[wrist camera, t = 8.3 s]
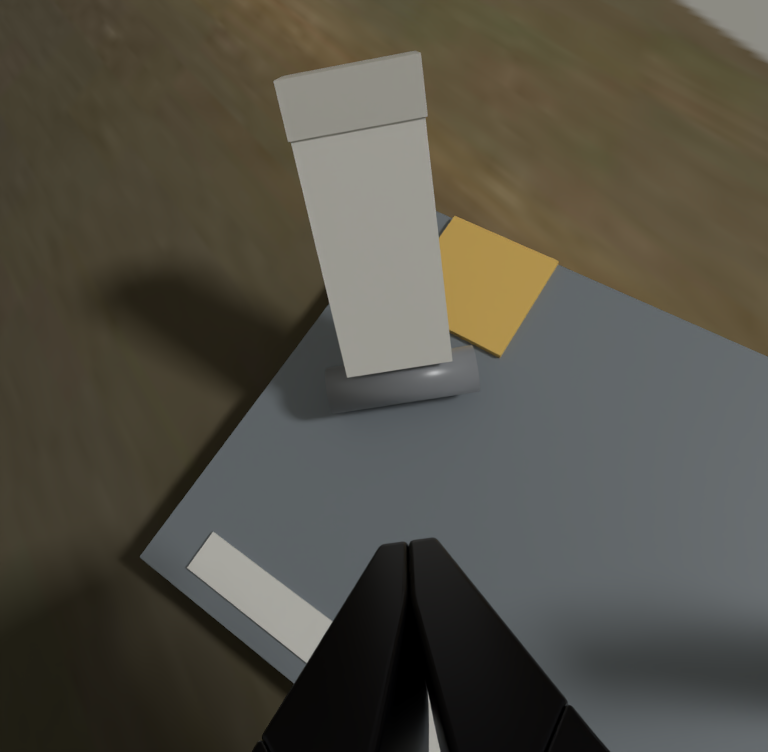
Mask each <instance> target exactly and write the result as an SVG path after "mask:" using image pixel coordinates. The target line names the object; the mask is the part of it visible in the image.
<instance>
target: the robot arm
mask: <svg viewBox="0 0 768 752" xmlns="http://www.w3.org/2000/svg"><path fill="white" fill-rule="evenodd" d="M428 695H429V700H430V705H431V711H432V716H433V721H434V725H435V730H436V734H437V739H438V743H439V748H440V752H610V751H609V749H608V748H607V747H606V746H605V745H604V744H603V742H602V741H601V740H600V739H599V738H598V737H597V735H596V734H595V733H594V732H593V731H592V729H591V728H590V727H589V726H588V724H587V723H586V722H585V721H584V719H583V718H582V717H581V716H580V715H579V713H578V712H577V711H576V710H575V708H574V707H573V706H572V705H568V701H567V699H566V698H565V696H564V695H563V694H562V693H561V691H560V690H559V689H558V688H557V687H556V685H555V684H554V683H553V682H552V680H551V679H550V678H549V677H548V675H547V674H546V673H545V672H544V670H543V669H542V668H541V667H540V665H539V664H538V663H537V662H536V661H535V659H534V658H533V657H532V656H531V654H530V653H529V652H528V651H527V649H526V648H525V647H524V646H523V644H522V643H521V642H520V641H519V639H518V638H517V637H516V636H515V635H514V633H513V632H512V631H511V630H510V628H509V627H508V626H507V625H506V623H505V622H504V621H503V620H502V618H501V617H500V616H499V615H498V613H497V612H496V611H495V610H494V609H493V607H492V606H491V605H490V604H489V602H488V601H487V600H486V599H485V597H484V596H483V595H482V594H481V592H480V591H479V590H478V589H477V587H476V586H475V585H474V584H473V582H472V581H471V580H470V579H469V578H468V576H467V575H466V574H465V573H464V571H463V570H462V569H461V568H460V566H459V565H458V564H457V563H456V561H455V560H454V559H453V558H452V556H451V555H450V554H449V553H448V552H447V550H446V549H445V548H444V547H443V545H442V544H441V543H440V542H439V540H438V539H436V538H434V537H431V538H424V539H416V540H412V541H410V543H409V546H408V544H407V543H406V542H404V541H402V542H394V543H387V544H382V545H381V546H379V547H378V549H377V551H376V552H375V554H374V555H373V557H372V559H371V560H370V562H369V563H368V565H367V567H366V568H365V570H364V571H363V573H362V575H361V576H360V578H359V580H358V581H357V583H356V584H355V586H354V588H353V589H352V591H351V592H350V594H349V596H348V597H347V599H346V601H345V602H344V604H343V605H342V607H341V609H340V610H339V612H338V613H337V615H336V617H335V618H334V620H333V622H332V623H331V625H330V626H329V628H328V630H327V631H326V633H325V634H324V636H323V638H322V639H321V641H320V643H319V644H318V646H317V647H316V649H315V651H314V652H313V654H312V655H311V657H310V659H309V660H308V662H307V664H306V665H305V667H304V668H303V670H302V672H301V673H300V675H299V676H298V678H297V680H296V681H295V683H294V685H293V686H292V688H291V689H290V691H289V693H288V694H287V696H286V697H285V699H284V701H283V702H282V704H281V706H280V707H279V709H278V710H277V712H276V714H275V715H274V717H273V718H272V720H271V722H270V723H269V725H268V726H267V728H266V730H265V731H264V733H263V735H262V740H263V741H258V742H257V744H256V745H255V747H254V749H253V750H252V752H429V701H428Z"/></svg>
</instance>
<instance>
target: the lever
mask: <svg viewBox="0 0 768 752" xmlns="http://www.w3.org/2000/svg"><path fill="white" fill-rule="evenodd" d="M274 85H275V89H276V93H277V98H278V102H279V106H280V110H281V114H282V118H283V122H284V127H285V131H286V135H287V139H288V142H291V145H292V149H293V153H294V157H295V161H296V166H297V170H298V174H299V178H300V182H301V186H302V191H303V195H304V199H305V203H306V207H307V212H308V216H309V220H310V224H311V228H312V233H313V237H314V241H315V245H316V249H317V253H318V258H319V262H320V266H321V270H322V274H323V279H324V283H325V287H326V291H327V295H328V299H329V304H330V308H331V312H332V316H333V320H334V325H335V329H336V333H337V337H338V341H339V346H340V350H341V354H342V358H343V362H344V365H342V366H335V367H329V368H326V370H325V384H326V392H327V397H328V402H329V406H330V409H331V411H332V413H333V414H335V413H341V412H348V411H355V410H361V409H368V408H374V407H381V406H388V405H394V404H401V403H407V402H414V401H420V400H427V399H434V398H440V397H447V396H453V395H460V394H467V393H473V392H479V391H480V380H479V372H478V365H477V360H476V355H475V351H474V348H473V346H472V345H469V346H463V347H456V348H451V342H450V333H449V324H448V316H447V307H446V298H445V289H444V280H443V271H442V262H441V253H440V244H439V235H438V226H437V217H436V209H435V200H434V191H433V182H432V173H431V164H430V155H429V146H428V137H427V128H426V119H425V117H427V116H428V115H427V106H426V97H425V87H424V78H423V69H422V60H421V53H420V52H417V51H411V52H406V53H401V54H396V55H391V56H385V57H380V58H375V59H370V60H364V61H359V62H354V63H349V64H344V65H338V66H333V67H328V68H323V69H318V70H312V71H307V72H302V73H297V74H291V75H286V76H282V77H280V78H278V79H276V80H275V81H274Z"/></svg>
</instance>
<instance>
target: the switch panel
mask: <svg viewBox="0 0 768 752" xmlns="http://www.w3.org/2000/svg"><path fill="white" fill-rule="evenodd" d="M436 217H437V226H438V235H439V244H440V253H441V262H442V271H443V280H444V289H445V298H446V307H447V316H448V324H449V333H450V342H451V348H456V347H463V346H469V345H472V346H473V348H474V351H475V355H476V360H477V365H478V372H479V380H480V391H479V392H473V393H467V394H460V395H453V396H447V397H440V398H434V399H427V400H420V401H414V402H407V403H401V404H394V405H388V406H381V407H374V408H368V409H361V410H355V411H348V412H341V413H335V414H333V413H332V411H331V409H330V406H329V402H328V397H327V392H326V384H325V370H326V368H329V367H335V366H342V365H344V362H343V358H342V354H341V350H340V346H339V341H338V337H337V333H336V329H335V325H334V320H333V316H332V312H331V308H330V304H328V306H327V307H326V308H325V310H324V311H323V312H322V314H321V315H320V316H319V318H318V319H317V320H316V322H315V323H314V324H313V326H312V327H311V328H310V330H309V331H308V332H307V334H306V335H305V336H304V338H303V339H302V340H301V342H300V343H299V344H298V346H297V347H296V348H295V350H294V351H293V352H292V354H291V355H290V356H289V358H288V359H287V360H286V362H285V363H284V364H283V366H282V367H281V368H280V370H279V371H278V373H277V374H276V375H275V377H274V378H273V379H272V381H271V382H270V383H269V385H268V386H267V387H266V389H265V390H264V391H263V393H262V394H261V395H260V397H259V398H258V399H257V401H256V402H255V403H254V405H253V406H252V407H251V409H250V410H249V411H248V413H247V414H246V415H245V417H244V418H243V419H242V421H241V422H240V423H239V425H238V426H237V427H236V429H235V430H234V431H233V433H232V434H231V435H230V437H229V438H228V439H227V441H226V442H225V443H224V445H223V446H222V447H221V449H220V450H219V451H218V453H217V454H216V455H215V457H214V458H213V459H212V461H211V462H210V463H209V465H208V466H207V467H206V469H205V470H204V471H203V473H202V474H201V475H200V477H199V478H198V479H197V481H196V482H195V483H194V485H193V486H192V487H191V489H190V490H189V491H188V493H187V494H186V495H185V497H184V498H183V499H182V501H181V502H180V503H179V505H178V506H177V507H176V509H175V510H174V511H173V513H172V514H171V515H170V517H169V518H168V519H167V521H166V522H165V523H164V525H163V526H162V527H161V529H160V530H159V531H158V533H157V534H156V535H155V537H154V538H153V539H152V541H151V542H150V543H149V545H148V546H147V547H146V549H145V550H144V551H143V553H142V554H141V555H140V558H141V559H142V560H144V561H145V562H146V563H147V564H148V565H150V566H151V567H152V568H153V569H155V570H156V571H157V572H158V573H159V574H161V575H162V576H163V577H164V578H166V579H167V580H168V581H169V582H170V583H172V584H173V585H174V586H175V587H177V588H178V589H179V590H180V591H181V592H183V593H184V594H185V595H186V596H188V597H189V598H190V599H191V600H193V601H194V602H195V603H196V604H197V605H199V606H200V607H201V608H202V609H204V610H205V611H206V612H207V613H208V614H210V615H211V616H212V617H213V618H215V619H216V620H217V621H218V622H219V623H221V624H222V625H223V626H224V627H226V628H227V629H228V630H229V631H230V632H232V633H233V634H234V635H235V636H237V637H238V638H239V639H240V640H241V641H243V642H244V643H245V644H246V645H248V646H249V647H250V648H251V649H252V650H254V651H255V652H256V653H257V654H259V655H260V656H261V657H262V658H263V659H265V660H266V661H267V662H268V663H270V664H271V665H272V666H273V667H274V668H276V669H277V670H278V671H279V672H281V673H282V674H283V675H284V676H285V677H287V678H288V679H289V680H290V681H292V682H293V683H295V681H296V680H297V678H298V676H299V675H300V673H301V672H302V670H303V668H304V667H305V665H306V664H307V662H308V660H309V659H310V657H311V655H312V654H313V652H314V651H315V649H316V647H317V646H318V644H319V643H320V641H321V639H322V638H323V636H324V634H325V633H326V631H327V630H328V628H329V626H330V625H331V623H332V622H333V620H334V618H335V617H336V615H337V613H338V612H339V610H340V609H341V607H342V605H343V604H344V602H345V601H346V599H347V597H348V596H349V594H350V592H351V591H352V589H353V588H354V586H355V584H356V583H357V581H358V580H359V578H360V576H361V575H362V573H363V571H364V570H365V568H366V567H367V565H368V563H369V562H370V560H371V559H372V557H373V555H374V554H375V552H376V551H377V549H378V547H379V546H381V545H382V544H387V543H394V542H402V541H404V542H406V543H407V544H408V546H409V543H410V541H412V540H416V539H424V538H431V537H434V538H436V539H438V540H439V542H440V543H441V544H442V545H443V547H444V548H445V549H446V550H447V552H448V553H449V554H450V555H451V556H452V558H453V559H454V560H455V561H456V563H457V564H458V565H459V566H460V568H461V569H462V570H463V571H464V573H465V574H466V575H467V576H468V578H469V579H470V580H471V581H472V582H473V584H474V585H475V586H476V587H477V589H478V590H479V591H480V592H481V594H482V595H483V596H484V597H485V599H486V600H487V601H488V602H489V604H490V605H491V606H492V607H493V609H494V610H495V611H496V612H497V613H498V615H499V616H500V617H501V618H502V620H503V621H504V622H505V623H506V625H507V626H508V627H509V628H510V630H511V631H512V632H513V633H514V635H515V636H516V637H517V638H518V639H519V641H520V642H521V643H522V644H523V646H524V647H525V648H526V649H527V651H528V652H529V653H530V654H531V656H532V657H533V658H534V659H535V661H536V662H537V663H538V664H539V665H540V667H541V668H542V669H543V670H544V672H545V673H546V674H547V675H548V677H549V678H550V679H551V680H552V682H553V683H554V684H555V685H556V687H557V688H558V689H559V690H560V691H561V693H562V694H563V695H564V696H565V698H566V699H567V701H568V705H572V706H573V707H574V708H575V710H576V711H577V712H578V713H579V715H580V716H581V717H582V718H583V719H584V721H585V722H586V723H587V724H588V726H589V727H590V728H591V729H592V731H593V732H594V733H595V734H596V735H597V737H598V738H599V739H600V740H601V741H602V742H603V744H604V745H605V746H606V747H607V748H608V749H609V751H610V752H768V357H767V356H765V355H762V354H760V353H758V352H756V351H753V350H751V349H749V348H746V347H744V346H742V345H740V344H737V343H735V342H733V341H730V340H728V339H726V338H724V337H721V336H719V335H717V334H715V333H712V332H710V331H708V330H705V329H703V328H701V327H699V326H696V325H694V324H692V323H689V322H687V321H685V320H683V319H680V318H678V317H676V316H674V315H671V314H669V313H667V312H664V311H662V310H660V309H658V308H655V307H653V306H651V305H648V304H646V303H644V302H642V301H639V300H637V299H635V298H633V297H630V296H628V295H626V294H623V293H621V292H619V291H617V290H614V289H612V288H610V287H607V286H605V285H603V284H601V283H598V282H596V281H594V280H592V279H589V278H587V277H585V276H582V275H580V274H578V273H576V272H573V271H571V270H569V269H566V268H564V267H562V266H560V265H558V263H559V261H557V260H555V259H553V258H550V257H548V256H546V255H543V254H541V253H539V252H536V251H534V250H532V249H530V248H527V247H525V246H523V245H520V244H518V243H516V242H514V241H511V240H509V239H507V238H504V237H502V236H500V235H498V234H495V233H493V232H491V231H488V230H486V229H484V228H482V227H479V226H477V225H475V224H472V223H470V222H468V221H466V220H463V219H461V218H459V217H456V216H454V217H453V218H450V217H448V216H446V215H444V214H441V213H439V212H437V211H436ZM428 701H429V752H440V748H439V743H438V739H437V734H436V730H435V725H434V721H433V716H432V711H431V705H430V700H429V695H428Z"/></svg>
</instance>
